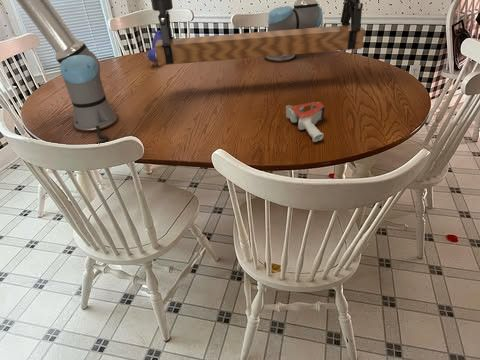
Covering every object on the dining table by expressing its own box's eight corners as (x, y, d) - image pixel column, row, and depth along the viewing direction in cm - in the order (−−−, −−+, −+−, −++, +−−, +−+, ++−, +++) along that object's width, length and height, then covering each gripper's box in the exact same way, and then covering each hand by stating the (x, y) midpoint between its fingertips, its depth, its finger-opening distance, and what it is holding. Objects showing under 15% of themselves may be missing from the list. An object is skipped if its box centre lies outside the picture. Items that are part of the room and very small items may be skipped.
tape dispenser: (318, 148, 112) (340, 119, 125) (320, 134, 109) (342, 106, 122) (269, 134, 120) (295, 107, 132) (269, 120, 116) (295, 94, 129)
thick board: (158, 65, 140) (154, 46, 135) (160, 58, 147) (156, 40, 142) (362, 48, 144) (365, 29, 139) (354, 43, 151) (357, 24, 146)
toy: (161, 62, 200) (141, 68, 178) (157, 30, 193) (135, 32, 171) (177, 61, 198) (159, 67, 176) (173, 29, 191) (154, 30, 169)
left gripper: (169, 2, 121) (178, 67, 135) (173, -8, 139) (180, 51, 152) (147, 3, 121) (158, 69, 134) (153, -7, 138) (163, 52, 151)
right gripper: (376, -13, 125) (365, 52, 138) (355, -22, 142) (347, 37, 155) (355, -12, 124) (347, 54, 138) (337, -21, 141) (330, 38, 155)
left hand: (170, 59), depth 143 cm, fingers closed on thick board, 8 cm apart
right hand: (347, 45), depth 147 cm, fingers closed on thick board, 8 cm apart
